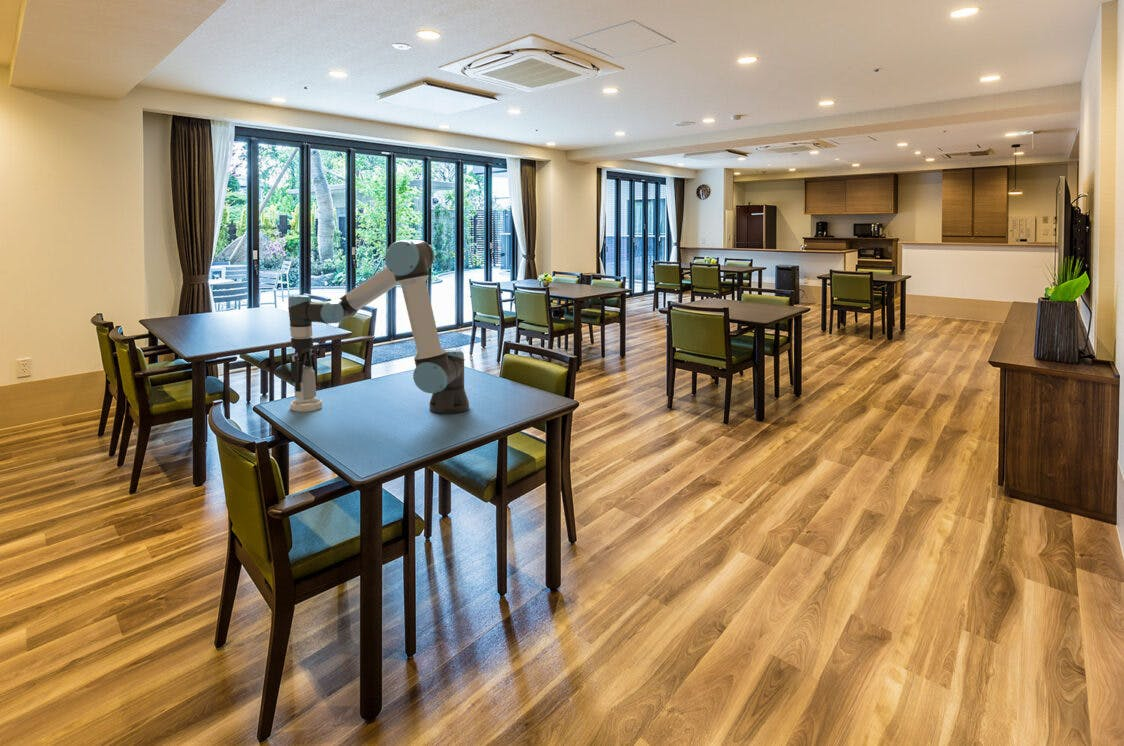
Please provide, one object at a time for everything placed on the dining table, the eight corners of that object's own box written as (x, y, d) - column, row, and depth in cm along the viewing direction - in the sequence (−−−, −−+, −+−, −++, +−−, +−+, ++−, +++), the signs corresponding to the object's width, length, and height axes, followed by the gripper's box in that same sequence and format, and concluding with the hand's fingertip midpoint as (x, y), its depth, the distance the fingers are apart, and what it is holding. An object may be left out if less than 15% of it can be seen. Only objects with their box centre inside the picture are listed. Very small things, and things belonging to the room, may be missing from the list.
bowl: (327, 404, 239) (327, 398, 239) (312, 412, 229) (312, 406, 228) (300, 403, 241) (300, 397, 240) (285, 410, 230) (284, 404, 229)
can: (295, 396, 236) (293, 365, 233) (316, 395, 239) (314, 364, 236) (294, 401, 229) (292, 370, 226) (316, 400, 232) (314, 368, 229)
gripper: (306, 332, 239) (310, 389, 244) (276, 341, 219) (281, 403, 224) (324, 333, 238) (328, 390, 243) (296, 342, 218) (300, 404, 223)
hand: (305, 396), depth 234 cm, fingers closed on can, 7 cm apart
